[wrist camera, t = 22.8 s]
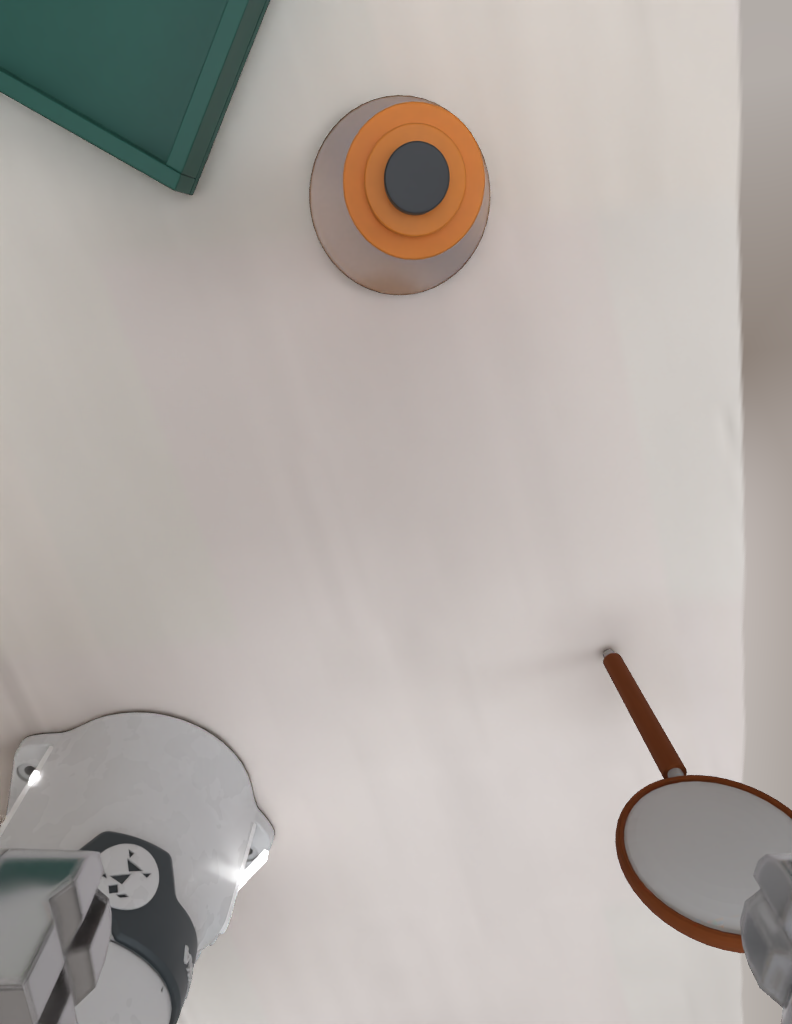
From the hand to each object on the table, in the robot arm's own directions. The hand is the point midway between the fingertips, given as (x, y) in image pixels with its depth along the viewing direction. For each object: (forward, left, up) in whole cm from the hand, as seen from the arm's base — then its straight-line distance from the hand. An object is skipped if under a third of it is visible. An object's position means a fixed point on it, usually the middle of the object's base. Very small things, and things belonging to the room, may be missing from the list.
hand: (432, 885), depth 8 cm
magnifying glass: (-9, -21, -31) cm, 38 cm away
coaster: (+8, +4, -31) cm, 33 cm away
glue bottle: (+9, +4, -30) cm, 32 cm away
